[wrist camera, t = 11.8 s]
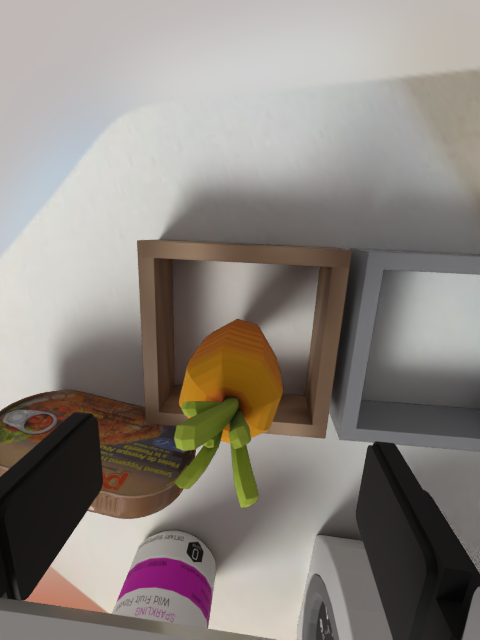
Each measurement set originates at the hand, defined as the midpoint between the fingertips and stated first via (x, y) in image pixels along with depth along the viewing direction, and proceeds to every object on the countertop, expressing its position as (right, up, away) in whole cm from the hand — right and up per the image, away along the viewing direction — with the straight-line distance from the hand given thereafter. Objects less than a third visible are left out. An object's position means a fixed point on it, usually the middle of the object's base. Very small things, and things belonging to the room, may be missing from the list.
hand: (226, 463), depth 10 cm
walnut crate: (+1, +4, +14) cm, 14 cm away
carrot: (+1, +4, +14) cm, 14 cm away
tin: (-10, -4, +17) cm, 20 cm away
